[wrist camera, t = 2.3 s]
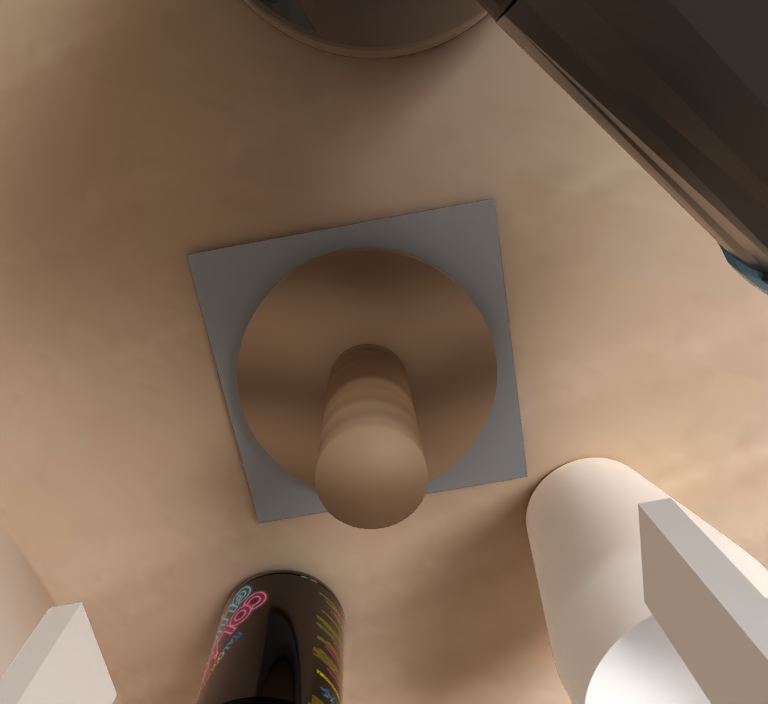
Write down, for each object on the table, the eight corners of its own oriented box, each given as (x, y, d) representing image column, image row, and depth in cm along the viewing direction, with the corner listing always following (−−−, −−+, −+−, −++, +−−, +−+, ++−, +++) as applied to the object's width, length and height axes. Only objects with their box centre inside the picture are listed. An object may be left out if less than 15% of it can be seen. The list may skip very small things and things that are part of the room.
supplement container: (287, 539, 33) (255, 704, 23) (372, 617, 34) (376, 803, 24) (197, 611, 34) (129, 799, 24) (283, 684, 36) (252, 887, 26)
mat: (188, 254, 28) (186, 255, 28) (492, 198, 28) (494, 199, 28) (259, 519, 32) (258, 523, 32) (525, 472, 32) (527, 476, 32)
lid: (213, 273, 28) (132, 333, 18) (474, 225, 28) (539, 260, 18) (273, 502, 32) (232, 661, 22) (505, 462, 31) (573, 602, 21)
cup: (472, 550, 33) (531, 752, 22) (556, 407, 31) (670, 550, 20) (614, 606, 35) (740, 824, 23) (704, 474, 32) (892, 643, 21)
